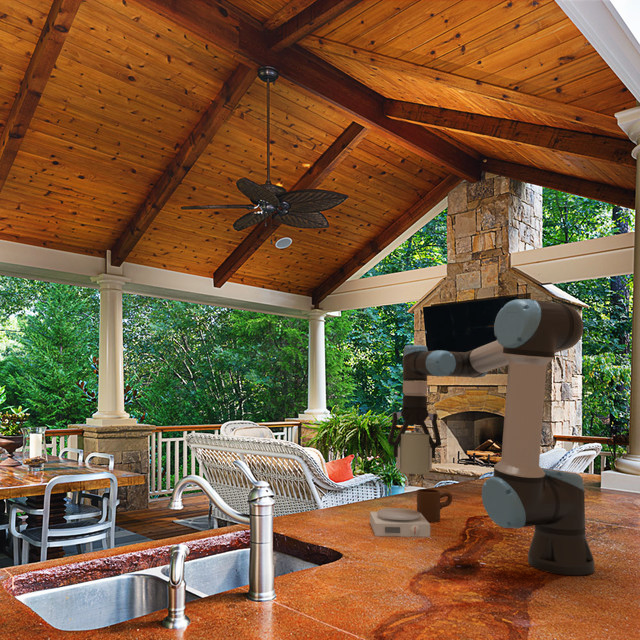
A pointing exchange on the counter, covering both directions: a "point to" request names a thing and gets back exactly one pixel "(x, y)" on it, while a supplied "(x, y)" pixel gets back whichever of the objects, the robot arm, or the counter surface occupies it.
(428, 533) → the scale
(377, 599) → the counter surface
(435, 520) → the mug
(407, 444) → the can
